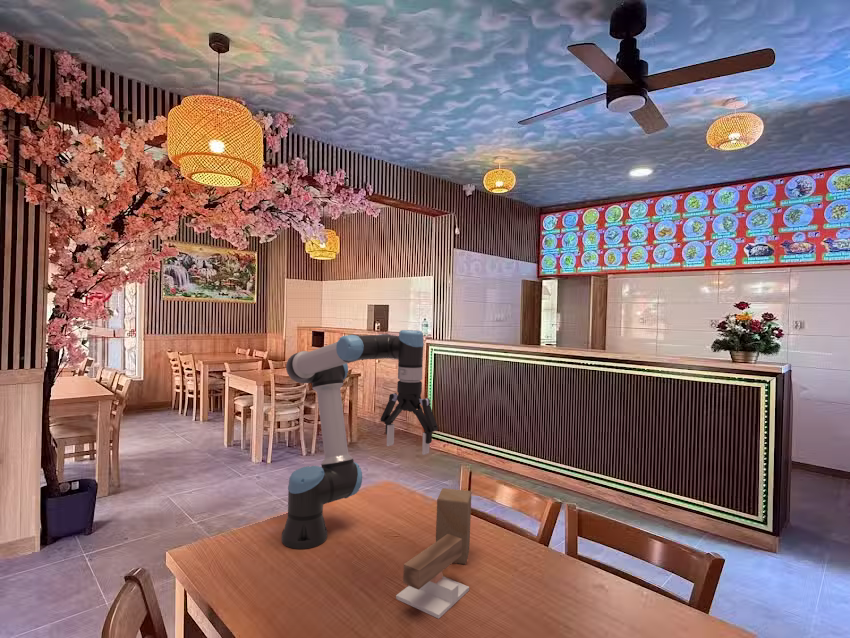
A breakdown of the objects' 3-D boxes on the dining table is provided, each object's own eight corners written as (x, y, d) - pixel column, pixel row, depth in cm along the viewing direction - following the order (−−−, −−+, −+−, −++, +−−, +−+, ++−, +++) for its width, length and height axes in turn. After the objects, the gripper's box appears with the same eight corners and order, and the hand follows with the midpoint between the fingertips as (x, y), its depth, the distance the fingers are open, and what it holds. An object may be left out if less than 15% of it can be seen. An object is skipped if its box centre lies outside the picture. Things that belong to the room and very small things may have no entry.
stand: (396, 598, 132) (396, 571, 132) (428, 573, 145) (429, 549, 145) (438, 618, 124) (439, 590, 124) (469, 590, 137) (470, 564, 137)
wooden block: (466, 565, 150) (468, 502, 150) (434, 560, 152) (436, 498, 152) (469, 550, 160) (471, 490, 160) (440, 546, 162) (442, 487, 162)
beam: (403, 582, 126) (403, 564, 126) (447, 550, 144) (447, 533, 144) (418, 589, 123) (419, 570, 123) (461, 555, 142) (462, 538, 141)
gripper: (370, 377, 151) (368, 444, 151) (437, 386, 137) (434, 460, 137) (385, 375, 157) (383, 439, 157) (450, 383, 143) (448, 454, 143)
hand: (407, 449), depth 147 cm, fingers open, 13 cm apart
